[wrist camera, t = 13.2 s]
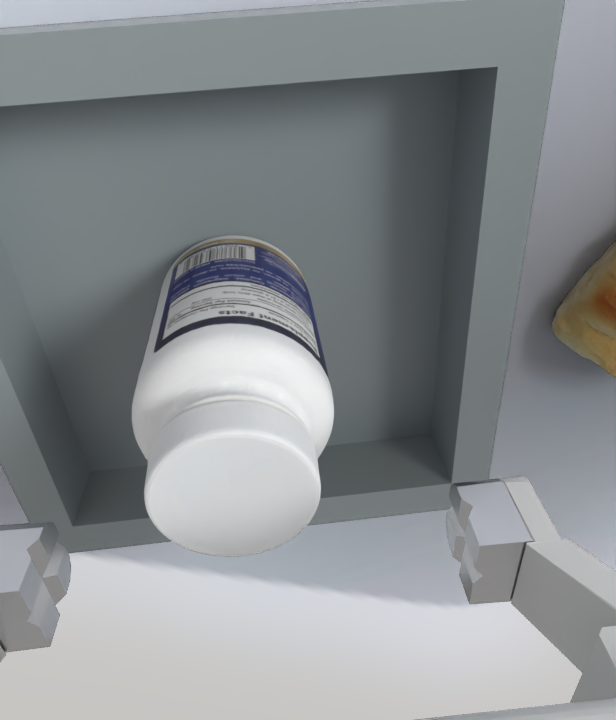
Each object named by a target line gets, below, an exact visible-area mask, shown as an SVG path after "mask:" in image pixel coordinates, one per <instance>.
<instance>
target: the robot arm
mask: <svg viewBox="0 0 616 720" xmlns="http://www.w3.org/2000/svg"><path fill="white" fill-rule="evenodd" d="M449 498H450V501H451V504H452V507H451V508H450V509H449V510H448V511H447V517H446V527H447V537H448V541H449V545H450V548H451V552H452V555H453V557H455V558H456V559H457V560H458V561H460V562H461V567H460V574H459V575H460V578H461V581H462V584H463V587H464V590H465V593H466V596H467V598H468V601H469V604H479V603H493V602H507V601H512V604H513V606H515V607H516V608H517V609H518V610H519V611H520V612H521V613H522V614H523V615H524V616H525V617H526V618H527V619H528V620H529V621H530V622H531V623H532V624H533V625H534V626H535V627H536V628H537V629H538V630H539V631H540V632H541V633H542V634H543V635H544V636H545V637H546V638H547V639H548V640H549V641H550V642H551V643H552V644H553V645H554V646H555V647H557V648H558V649H559V650H560V651H561V652H562V653H563V654H564V655H565V656H566V657H567V658H568V659H569V660H570V661H571V662H572V663H573V664H574V665H575V666H576V667H577V668H578V669H579V670H580V671H581V672H582V676H581V678H580V680H579V683H578V685H577V688H576V690H575V692H574V695H573V697H572V699H571V702H570V703H565V704H555V705H546V706H538V707H528V708H518V709H509V710H500V711H491V712H481V713H472V714H463V715H454V716H445V717H435V718H426V719H417V720H616V571H615V570H613V569H612V568H610V567H609V566H607V565H606V564H605V563H603V562H602V561H600V560H599V559H597V558H596V557H594V556H593V555H591V554H590V553H588V552H587V551H585V550H584V549H583V548H581V547H580V546H578V545H577V544H575V543H574V542H572V541H571V540H569V539H561V538H560V536H559V535H558V533H557V531H556V529H555V527H554V525H553V524H552V522H551V520H550V518H549V516H548V514H547V513H546V511H545V509H544V507H543V505H542V503H541V502H540V500H539V498H538V496H537V494H536V493H535V491H534V489H533V487H532V485H531V483H530V482H529V480H528V479H527V478H526V477H524V476H522V477H512V478H501V479H489V480H480V481H470V482H461V483H452V485H451V487H450V492H449ZM58 535H59V532H58V530H57V528H56V526H55V524H54V522H42V523H28V524H13V525H0V662H1V661H2V659H3V658H4V657H5V656H6V653H5V652H12V651H20V650H28V649H35V648H43V647H50V645H51V642H52V639H53V636H54V632H55V629H56V626H57V623H58V620H59V616H60V614H59V612H58V610H57V608H56V606H55V605H56V604H57V603H58V602H59V601H60V600H61V599H62V598H63V597H64V596H65V595H66V593H67V590H68V586H69V583H70V573H71V563H70V557H69V554H68V552H67V549H66V547H64V546H62V545H61V544H59V543H57V542H56V541H57V538H58Z"/></svg>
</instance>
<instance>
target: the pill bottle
mask: <svg viewBox="0 0 616 720" xmlns="http://www.w3.org/2000/svg"><path fill="white" fill-rule="evenodd" d="M333 420H334V403H333V395H332V389H331V385H330V380H329V376H328V372H327V368H326V363H325V358H324V354H323V350H322V345H321V341H320V337H319V332H318V328H317V324H316V319H315V315H314V310H313V306H312V302H311V297H310V293H309V290H308V287H307V284H306V281H305V279H304V277H303V275H302V273H301V271H300V270H299V268H298V267H297V265H296V264H295V263H294V262H293V261H292V260H291V259H290V258H289V257H288V256H287V255H286V254H285V253H284V252H282V251H281V250H280V249H278V248H277V247H275V246H273V245H271V244H269V243H267V242H265V241H262V240H260V239H256V238H253V237H248V236H240V235H227V236H219V237H214V238H210V239H207V240H205V241H202V242H200V243H198V244H196V245H194V246H192V247H191V248H189V249H188V250H187V251H185V252H184V253H183V254H182V255H181V256H180V257H179V258H178V259H177V260H176V261H175V262H174V264H173V265H172V266H171V268H170V269H169V271H168V273H167V275H166V277H165V279H164V282H163V285H162V288H161V291H160V294H159V298H158V302H157V306H156V310H155V314H154V318H153V322H152V326H151V330H150V333H149V337H148V341H147V345H146V349H145V353H144V357H143V360H142V364H141V368H140V371H139V375H138V379H137V382H136V388H135V393H134V398H133V403H132V425H133V431H134V435H135V438H136V441H137V443H138V445H139V447H140V449H141V451H142V453H143V455H144V456H145V458H146V459H147V460H148V467H147V473H146V480H145V487H144V501H145V506H146V510H147V513H148V515H149V517H150V519H151V520H152V522H153V524H154V525H155V526H156V528H157V529H158V530H159V531H160V532H161V533H162V534H163V535H164V536H166V537H167V538H168V539H170V540H171V541H173V542H174V543H176V544H178V545H180V546H182V547H184V548H186V549H189V550H192V551H195V552H198V553H202V554H208V555H214V556H224V557H239V556H246V555H253V554H257V553H261V552H264V551H267V550H271V549H273V548H276V547H278V546H280V545H282V544H284V543H286V542H287V541H289V540H290V539H292V538H294V537H295V536H296V535H297V534H298V533H300V532H301V531H302V530H303V529H304V528H305V527H306V526H307V525H308V524H309V522H310V521H311V519H312V518H313V516H314V514H315V512H316V510H317V508H318V505H319V501H320V496H321V482H320V475H319V467H318V458H319V456H320V455H321V453H322V451H323V450H324V448H325V446H326V444H327V442H328V439H329V437H330V434H331V431H332V427H333Z"/></svg>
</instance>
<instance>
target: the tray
mask: <svg viewBox="0 0 616 720" xmlns="http://www.w3.org/2000/svg"><path fill="white" fill-rule="evenodd" d="M564 3H565V0H375V1H361V2H347V3H334V4H320V5H307V6H293V7H280V8H266V9H253V10H239V11H226V12H212V13H199V14H185V15H172V16H158V17H145V18H131V19H118V20H104V21H91V22H77V23H64V24H50V25H36V26H23V27H9V28H0V463H1V466H2V468H3V470H4V472H5V474H6V476H7V478H8V480H9V482H10V484H11V486H12V488H13V490H14V492H15V494H16V496H17V498H18V500H19V502H20V504H21V507H22V509H23V511H24V513H25V515H26V517H27V519H28V521H29V523H42V522H54V524H55V526H56V528H57V530H58V532H59V535H58V538H57V541H56V542H57V543H59V544H61V545H62V546H64V547H66V549H67V552H68V553H75V552H84V551H92V550H101V549H110V548H118V547H127V546H135V545H144V544H153V543H161V542H170V541H171V540H170V539H168V538H167V537H166V536H164V535H163V534H162V533H161V532H160V531H159V530H158V529H157V528H156V526H155V525H154V524H153V522H152V520H151V519H150V517H149V515H148V513H147V510H146V506H145V501H144V487H145V480H146V473H147V467H148V460H147V459H146V458H145V456H144V455H143V453H142V451H141V449H140V447H139V445H138V443H137V441H136V438H135V435H134V431H133V425H132V403H133V398H134V393H135V388H136V382H137V379H138V375H139V371H140V368H141V364H142V360H143V357H144V353H145V349H146V345H147V341H148V337H149V333H150V330H151V326H152V322H153V318H154V314H155V310H156V306H157V302H158V298H159V294H160V291H161V288H162V285H163V282H164V279H165V277H166V275H167V273H168V271H169V269H170V268H171V266H172V265H173V264H174V262H175V261H176V260H177V259H178V258H179V257H180V256H181V255H182V254H183V253H184V252H185V251H187V250H188V249H189V248H191V247H192V246H194V245H196V244H198V243H200V242H202V241H205V240H207V239H210V238H214V237H219V236H227V235H240V236H248V237H253V238H256V239H260V240H262V241H265V242H267V243H269V244H271V245H273V246H275V247H277V248H278V249H280V250H281V251H282V252H284V253H285V254H286V255H287V256H288V257H289V258H290V259H291V260H292V261H293V262H294V263H295V264H296V265H297V267H298V268H299V270H300V271H301V273H302V275H303V277H304V279H305V281H306V284H307V287H308V290H309V293H310V297H311V302H312V306H313V310H314V315H315V319H316V324H317V328H318V332H319V337H320V341H321V345H322V350H323V354H324V358H325V363H326V368H327V372H328V376H329V380H330V385H331V389H332V395H333V403H334V420H333V427H332V431H331V434H330V437H329V439H328V442H327V444H326V446H325V448H324V450H323V451H322V453H321V455H320V456H319V458H318V467H319V475H320V482H321V496H320V501H319V505H318V508H317V510H316V512H315V514H314V516H313V518H312V519H311V521H310V522H309V524H308V525H316V524H325V523H334V522H342V521H351V520H360V519H368V518H377V517H385V516H394V515H403V514H411V513H420V512H428V511H437V510H446V509H450V508H451V507H452V504H451V501H450V498H449V492H450V487H451V485H452V483H461V482H470V481H480V480H488V478H489V471H490V465H491V459H492V453H493V446H494V440H495V434H496V428H497V421H498V415H499V409H500V403H501V396H502V390H503V384H504V378H505V371H506V365H507V359H508V353H509V347H510V340H511V334H512V328H513V322H514V315H515V309H516V303H517V297H518V290H519V284H520V278H521V272H522V265H523V259H524V253H525V247H526V240H527V234H528V228H529V222H530V215H531V209H532V203H533V197H534V190H535V184H536V178H537V172H538V165H539V159H540V153H541V147H542V140H543V134H544V128H545V122H546V115H547V109H548V103H549V97H550V90H551V84H552V78H553V72H554V65H555V59H556V53H557V47H558V40H559V34H560V28H561V22H562V16H563V9H564ZM308 525H307V526H308Z"/></svg>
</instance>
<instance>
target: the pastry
mask: <svg viewBox="0 0 616 720" xmlns="http://www.w3.org/2000/svg"><path fill="white" fill-rule="evenodd" d="M552 329H553V333H554V335H555V336H556V337H557V338H558V339H559V340H560V341H561V342H563V343H564V344H565V345H566V346H567V347H569V348H570V349H571V350H573V351H575V352H576V353H577V354H579V355H580V356H582V357H584V358H587V359H589V360H591V361H593V362H594V363H595V364H597V365H599V366H600V367H602V368H604V369H605V370H606V371H607V372H608V373H610V374H611V375H612V376H614V377H616V241H615V242H614V243H613V244H612V245H611V246H610V247H609V248H608V249H607V250H606V252H605V253H604V254H603V255H602V256H601V257H600V258H599V259H598V260H597V261H596V262H595V263H594V264H593V265H592V266H591V267H590V268H589V269H588V270H587V271H586V272H585V273H584V274H583V276H582V277H581V278H580V279H579V280H578V281H577V283H576V284H575V286H574V287H573V288H572V289H571V291H570V292H569V293H568V294H567V296H566V297H565V299H564V301H563V302H562V304H561V305H560V306H559V308H558V309H557V311H556V315H555V317H554V319H553V322H552Z"/></svg>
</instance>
